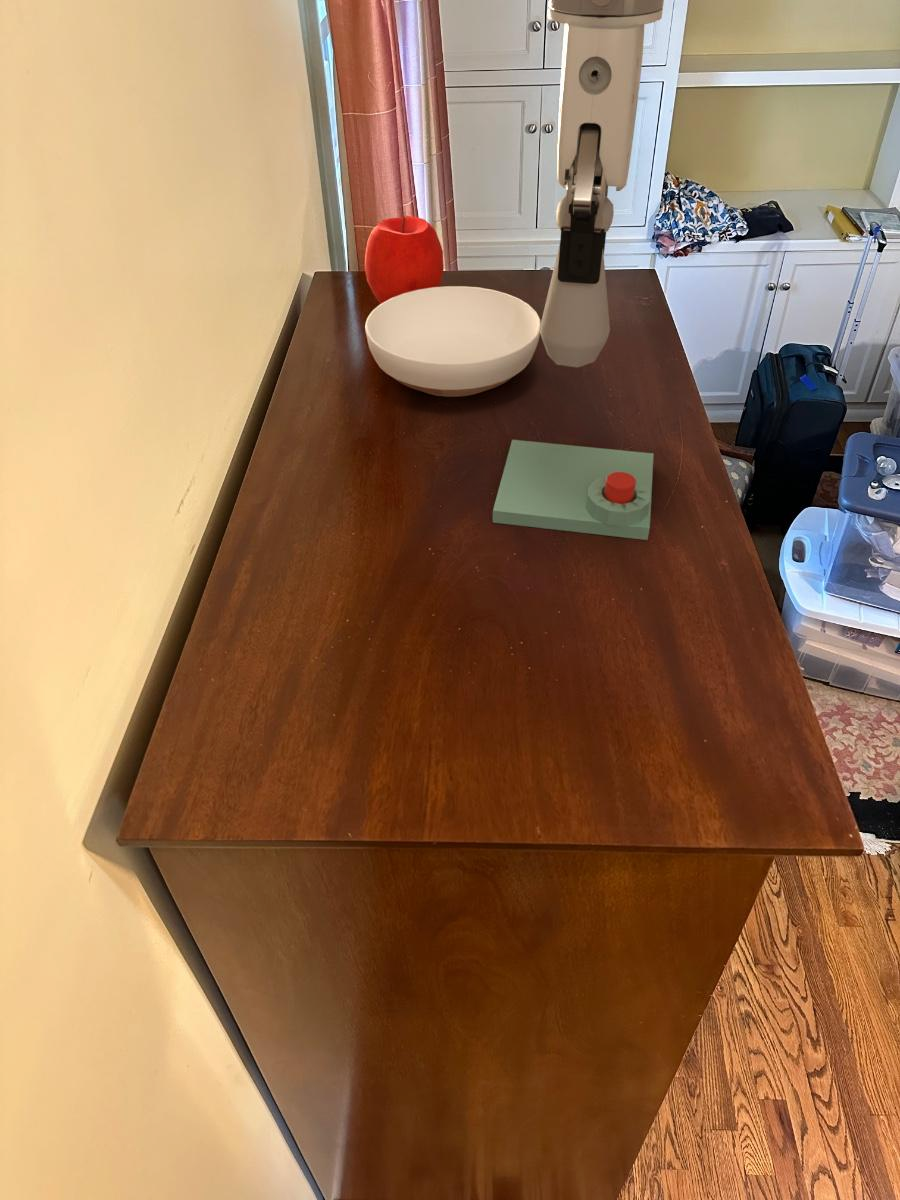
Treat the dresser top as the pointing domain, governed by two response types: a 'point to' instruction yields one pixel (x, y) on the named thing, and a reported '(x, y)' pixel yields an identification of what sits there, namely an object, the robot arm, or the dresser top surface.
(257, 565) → the dresser top surface
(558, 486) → the green flat block
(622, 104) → the robot arm
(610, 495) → the button
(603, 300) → the salt shaker
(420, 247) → the apple
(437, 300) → the bowl
